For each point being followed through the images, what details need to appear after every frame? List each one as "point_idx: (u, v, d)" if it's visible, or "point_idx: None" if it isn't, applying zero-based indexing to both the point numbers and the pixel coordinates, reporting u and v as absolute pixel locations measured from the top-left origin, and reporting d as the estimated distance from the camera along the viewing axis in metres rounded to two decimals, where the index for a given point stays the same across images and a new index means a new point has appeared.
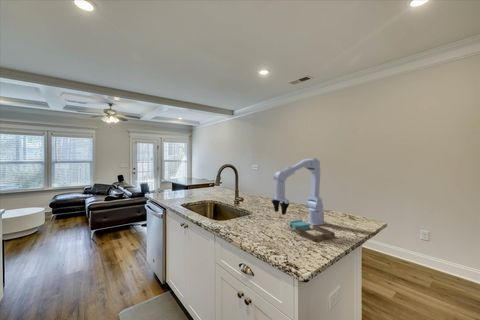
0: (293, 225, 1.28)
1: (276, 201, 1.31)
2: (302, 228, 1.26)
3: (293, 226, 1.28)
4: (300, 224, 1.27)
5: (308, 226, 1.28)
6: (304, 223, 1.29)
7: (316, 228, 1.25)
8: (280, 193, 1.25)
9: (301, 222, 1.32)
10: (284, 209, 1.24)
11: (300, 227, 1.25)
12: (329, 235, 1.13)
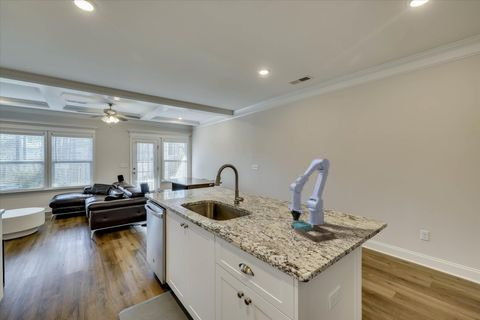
0: (295, 226, 1.27)
1: None
2: (304, 229, 1.24)
3: (295, 227, 1.27)
4: (302, 225, 1.26)
5: (310, 227, 1.26)
6: (306, 224, 1.28)
7: (316, 228, 1.25)
8: (296, 204, 1.30)
9: (303, 223, 1.30)
10: (297, 218, 1.32)
11: (302, 228, 1.24)
12: (329, 235, 1.13)
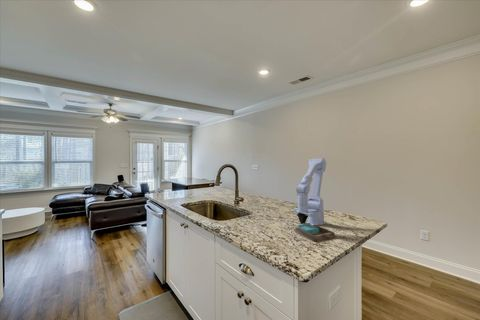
0: (301, 229, 1.21)
1: None
2: (311, 232, 1.18)
3: None
4: (309, 228, 1.20)
5: (317, 230, 1.20)
6: (313, 227, 1.22)
7: None
8: (303, 206, 1.24)
9: (310, 226, 1.24)
10: (303, 220, 1.27)
11: (309, 231, 1.18)
12: (329, 235, 1.13)
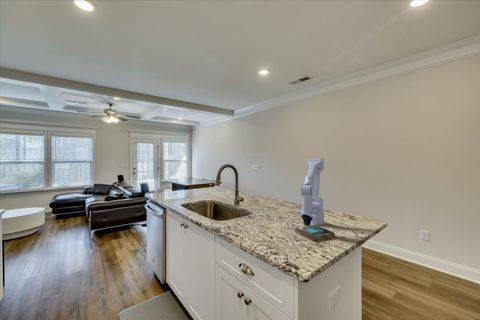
0: (306, 231, 1.17)
1: None
2: None
3: None
4: (314, 230, 1.16)
5: (322, 233, 1.17)
6: (318, 229, 1.18)
7: None
8: (308, 207, 1.21)
9: (314, 228, 1.21)
10: (308, 222, 1.23)
11: (314, 234, 1.14)
12: (329, 235, 1.13)
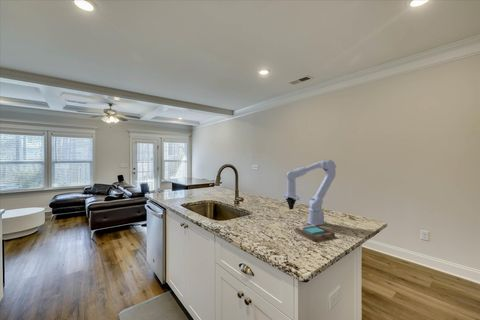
0: None
1: None
2: None
3: None
4: (314, 231, 1.16)
5: (323, 233, 1.16)
6: (318, 229, 1.18)
7: None
8: (291, 191, 1.36)
9: (315, 228, 1.20)
10: (292, 204, 1.39)
11: (314, 234, 1.14)
12: (329, 235, 1.13)
